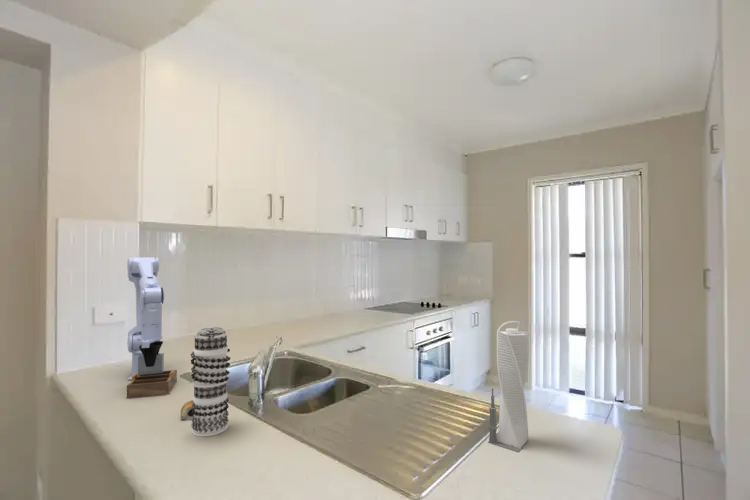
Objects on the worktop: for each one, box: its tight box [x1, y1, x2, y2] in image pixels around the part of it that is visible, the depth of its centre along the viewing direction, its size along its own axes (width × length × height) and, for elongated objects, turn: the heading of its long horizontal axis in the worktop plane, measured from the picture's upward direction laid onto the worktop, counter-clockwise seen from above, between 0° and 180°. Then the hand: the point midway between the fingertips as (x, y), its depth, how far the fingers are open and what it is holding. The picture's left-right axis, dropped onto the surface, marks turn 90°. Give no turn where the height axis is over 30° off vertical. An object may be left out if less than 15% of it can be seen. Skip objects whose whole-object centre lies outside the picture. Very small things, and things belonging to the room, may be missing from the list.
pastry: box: [180, 399, 194, 421], centre depth 105 cm, size 9×7×4 cm
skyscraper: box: [487, 320, 530, 453], centre depth 88 cm, size 8×8×28 cm
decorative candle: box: [190, 326, 231, 438], centre depth 95 cm, size 9×9×25 cm
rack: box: [126, 369, 178, 400], centre depth 123 cm, size 14×11×5 cm
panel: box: [138, 352, 165, 375], centre depth 123 cm, size 2×7×6 cm, turn 107°
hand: (151, 365), depth 123 cm, fingers closed on panel, 2 cm apart
